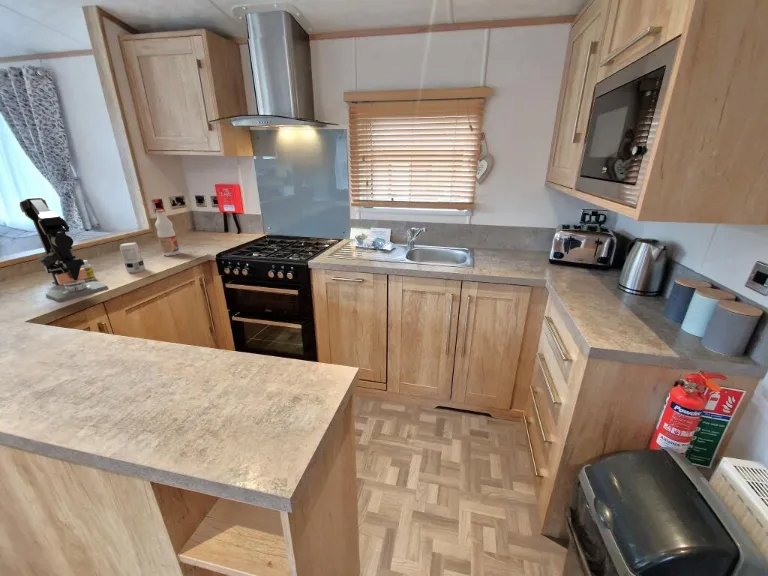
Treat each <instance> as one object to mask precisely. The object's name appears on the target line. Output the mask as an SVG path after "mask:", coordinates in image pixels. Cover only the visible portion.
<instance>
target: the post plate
mask: <svg viewBox="0 0 768 576" xmlns="http://www.w3.org/2000/svg"><path fill="white" fill-rule="evenodd" d="M85 283H86V286H87V288H85V289H83V290H79V291H75V292H67V291H66V289H65V288H61V289H57V290H54V291H51V292H45V293H44V294H45V296H46V298H49V299H51V300H53V301H55V302H58V303H62V302H65V301H70V300H72V299H73V300H74V299H76V298H79V297H84V296H87V295H90V294H93V293H98V292H101V291H104V290H107V289H109V287H108V285H106V284H104V283H100V282H98V281H93V280H91V281H87V282H85ZM76 285H79V284H76ZM71 286H75V285H71Z"/></svg>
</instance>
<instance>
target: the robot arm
mask: <svg viewBox="0 0 768 576" xmlns="http://www.w3.org/2000/svg"><path fill="white" fill-rule="evenodd" d="M19 207H20V210H21V212H22V213H24V215H25V217H27V218H28V219H29V220H31V221H32V223H33V224H34V227H35V230H36V232H37V234H38V237H39V239H40V242H41V244H42V247H43V249H44V254H43V255H42V256H41V257H38V258H37V259H36V260H37V261H38V263H40V264H41V265H42V266H43V268H44V271H45V273H47V274H51V276H52V279H53V281H52V282H51V283H52V284H54V285H57V286H60V284H58V281H57V279H56V276H55V274H59V273H63V272H67V271H69V273H70V274H71V276H72V278H73V279H74V280H78V276H79V271H80V268H81V266H82V265H84V261H83V260H84V259H81V258H79V257H76V255H74V254H73V251H72V250H73V245H74V239H73V238H72V237H71V236H69V235H67V234H66V233H69V232H70V226H69V225H68V223H67V221H66V220H65V219H64V218H63V217H61V216H60V215H59V214H58V213H56V212H52V211H51V210H50V209H49V206H48V204H47V201H46V200H45V199H43V198H42V197H40V196H35V197H27V198H25V199H24V200H22V201H20V202H19Z"/></svg>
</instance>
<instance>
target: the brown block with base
mask: <svg viewBox="0 0 768 576" xmlns="http://www.w3.org/2000/svg"><path fill="white" fill-rule="evenodd" d="M55 276H56V279H57V281H58V284H60V285H63V286H64V289H66V291H67V292H75V291H79V290H83V289H85V288H87V286H86V283H87V282H86V281H84V279H86V278H88V276H87V273H86V271H85V269H84V268H81V269H80V271H79V276H78V280H74V279H73V278H72V276H71V274H70V273H69V271H67V272H63V273H59V274H55ZM76 284H79V285H76ZM60 285H59V286H60ZM71 285H75V286H71Z"/></svg>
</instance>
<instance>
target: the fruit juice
mask: <svg viewBox="0 0 768 576" xmlns="http://www.w3.org/2000/svg"><path fill="white" fill-rule="evenodd" d="M155 214H156V215H157V216H156V217H157V218H156V221H155V223H154V226H155V228H156V230H157V231H156V232H157V234H156V235H157V237H158V242H159V245H160V248H161V249H160V250H161V252H162V255H163V256H164V255H166V256H165V257H170V256H169V255H174V256H177V255H176V254H178V255H179V254H180V248H179V244H178V240H177V236H176V232H175V230H174V229H173V226H174V224H173V222H172V221H171V220H170V219H169V218H168V216H167V215H166V210H165V209H155Z"/></svg>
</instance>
